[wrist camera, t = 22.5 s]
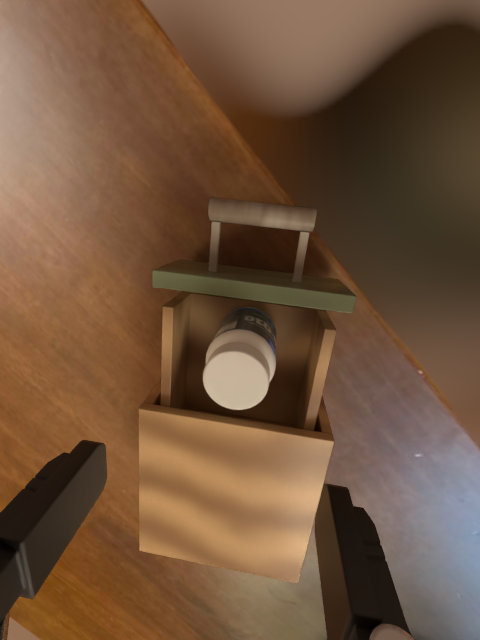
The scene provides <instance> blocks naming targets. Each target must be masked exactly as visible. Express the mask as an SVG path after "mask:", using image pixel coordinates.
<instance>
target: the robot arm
mask: <svg viewBox="0 0 480 640" xmlns="http://www.w3.org/2000/svg"><path fill="white" fill-rule="evenodd" d="M106 479H107V463H106V447H105V444H104V443H99V442H93V441H88V440H82V441H81V442H80V443H79V444H78V445H77V446H76V447H75V448H74V449H73V450H72V451H71V452H70V454H69V453H62V454H61V455H59V456H58V457H56V458H54V459H53V460H51V461H50V462H48V463H47V464H46V465H45V466H44V467H43V468H42V469H41V470H40V472H39V473H38V474H37V475H36V477H35V478H33V479H32V480H31V481H30V482H29V483H28V484H27V485H26V486H25V489H22V491H21V492H20V493H19V494H18V495H17V496H16V497H15V498H14V499H13V500H12V501H11V502H10V503H9V504H8V505H7V506H6V507H5V509H4V510H3V511H2V512H1V513H0V640H7V635H8V625H9V610H10V609H11V607H12V606H13V604H14V603H15V602H16V600H17V599H18V597H19V596H20V597H25V598H29V599H33V598H34V597H35V595H36V594H37V592H38V591H39V589H40V588H41V586H42V584H43V583H44V581H45V580H46V578H47V577H48V575H49V574H50V572H51V570H52V569H53V567H54V566H55V564H56V563H57V561H58V560H59V558H60V557H61V555H62V553H63V552H64V550H65V549H66V547H67V546H68V544H69V543H70V541H71V539H72V538H73V536H74V535H75V533H76V532H77V530H78V529H79V527H80V525H81V524H82V522H83V521H84V519H85V518H86V516H87V515H88V513H89V512H90V510H91V508H92V507H93V505H94V504H95V502H96V501H97V499H98V498H99V496H100V494H101V493H102V491H103V489H104V486H105V483H106ZM315 539H316V547H317V555H318V564H319V572H320V580H321V589H322V597H323V605H324V614H325V622H326V630H327V639H328V640H415V639H414V638H413V637H412V635H411V633H410V631H409V629H408V626H407V624H406V621H405V618H404V615H403V612H402V608H401V605H400V602H399V599H398V596H397V593H396V590H395V587H394V583H393V580H392V577H391V574H390V571H389V568H388V565H387V562H386V561H385V555H384V552H383V549H382V546H381V545H380V540H379V537H378V533H377V530H376V527H375V524H374V523H373V521H372V520H371V518H370V517H369V516H368V514H367V513H366V511H365V510H364V508H360V507H355V506H353V504H352V500H351V497H350V493H349V490H348V488H347V487H342V486H336V485H330V484H324V486H323V489H322V493H321V497H320V501H319V504H318V508H317V512H316V517H315Z"/></svg>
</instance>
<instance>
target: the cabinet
mask: <svg viewBox="0 0 480 640" xmlns="http://www.w3.org/2000/svg"><path fill="white" fill-rule="evenodd" d="M333 445H334V438H333V435H332V431H331V427H330V423H329V419H328V415H327V411H326V407H325V404H324V400H323V396H322V397H321V401H320V406H319V410H318V415H317V419H316V424H315V428H314V431H310V430H303V429H297V428H291V427H285V426H279V425H273V424H267V423H261V422H255V421H249V420H243V419H237V418H231V417H225V416H219V415H213V414H207V413H201V412H195V411H189V410H183V409H177V408H171V407H165V406H161V379H160V381H159V382H158V383H157V385H156V386H155V387H154V389H153V390H152V391H151V393H150V394H149V395H148V397H147V398H146V400H145V401H144V402H143V403H142V405H141V406H140V407H139V529H140V551H144V552H149V553H153V554H158V555H163V556H168V557H173V558H177V559H182V560H187V561H192V562H197V563H202V564H206V565H211V566H216V567H221V568H226V569H231V570H235V571H240V572H245V573H250V574H255V575H260V576H264V577H269V578H274V579H279V580H284V581H288V582H293V583H298V581H299V577H300V573H301V569H302V565H303V561H304V557H305V554H306V550H307V546H308V542H309V538H310V534H311V530H312V526H313V523H314V519H315V515H316V511H317V507H318V503H319V499H320V495H321V492H322V488H323V484H324V480H325V476H326V472H327V468H328V464H329V461H330V457H331V453H332V449H333Z"/></svg>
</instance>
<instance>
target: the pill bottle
mask: <svg viewBox="0 0 480 640" xmlns="http://www.w3.org/2000/svg"><path fill="white" fill-rule="evenodd" d="M275 368H276V328H275V325H274V323H273V321H272V320H271V318H270V317H269V316H268V315H267V314H266V313H265V312H263V311H262V310H260V309H257V308H253V307H242V308H238V309H236V310H234V311H232V312H231V313H230V314H229V315H228V316H227V317H226V318H225V320H224V321H223V323H222V325H221V327H220V328H219V330H218V332H217V334H216V335H215V337H214V339H213V341H212V342H211V344H210V346H209V347H208V350H207V353H206V366H205V368H204V372H203V383H204V387H205V389H206V391H207V393H208V395H209V396H210V397H211V398H212V399H213V400H214V401H215V402H216V403H218V404H219V405H221V406H223V407H226V408H229V409H234V410H243V409H248V408H251V407H253V406H255V405H257V404H258V403H259V402H261V401H262V399H263V398H264V397H265V395H266V393H267V391H268V387H269V382H270V381H271V379H272V378H273V375H274V373H275Z"/></svg>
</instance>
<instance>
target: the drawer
mask: <svg viewBox="0 0 480 640" xmlns="http://www.w3.org/2000/svg"><path fill="white" fill-rule="evenodd" d="M316 214H317V210H316V208H308V207H299V206H290V205H280V204H271V203H262V202H252V201H243V200H233V199H224V198H215V197H211V198H210V201H209V206H208V217H209V220H210V221H212V225H211V240H210V254H209V263H204V262H196V261H188V260H180V259H179V260H177V261H174V262H172V263H169V264H166V265H164V266H161V267H159V268H156V269H153V270H152V287H156V288H164V289H171V290H179V291H183V292H181V293H180V294H179V295H177V296H176V297H175V298H173V299H172V300H171V301H169V302H168V303H167V304H165V305H164V306H163V316H162V363H161V406H165V407H171V408H177V409H183V410H189V411H195V412H201V413H207V414H213V415H219V416H225V417H231V418H237V419H243V420H249V421H255V422H261V423H267V424H273V425H279V426H285V427H291V428H297V429H303V430H310V431H314V428H315V424H316V419H317V415H318V410H319V406H320V401H321V397H322V393H323V388H324V384H325V379H326V375H327V371H328V366H329V362H330V357H331V353H332V349H333V344H334V340H335V335H336V329H335V327H334V325H333V323H332V321H331V319H330V318H329V316H328V314H327V312H326V310H329V311H336V312H344V313H353V310H354V306H355V301H356V295H355V294H354V293H353V292H352V291H351V290H349V289H348V288H347V287H346V286H345V285H344V284H343V283H342V282H341V281H340V280H339V279H332V278H324V277H316V276H308V275H302V273H303V267H304V261H305V256H306V250H307V244H308V238H309V232H312V231H313V229H314V226H315V221H316ZM221 222H226V223H235V224H244V225H253V226H262V227H270V228H279V229H288V230H297V231H300V234H299V240H298V246H297V252H296V258H295V264H294V271H293V274H292V273H284V272H276V271H268V270H260V269H252V268H244V267H236V266H228V265H220V264H218V261H219V249H220V236H221V224H222V223H221ZM242 307H253V308H257V309H260V310H262V311H263V312H265V313H266V314H267V315H268V316H269V317H270V318H271V320H272V321H273V323H274V325H275V328H276V368H275V373H274V375H273V378H272V379H271V381H270V382H269V387H268V391H267V393H266V395H265V397H264V398H263V399H262V401H261V402H259V403H258V404H257V405H255V406H253V407H251V408H248V409H243V410H234V409H229V408H226V407H223V406H221V405H219V404H218V403H216V402H215V401H214V400H213V399H212V398H211V397H210V396H209V395H208V393H207V391H206V389H205V387H204V383H203V372H204V368H205V366H206V353H207V350H208V347H209V346H210V344H211V342H212V341H213V339H214V337H215V335H216V334H217V332H218V330H219V328H220V327H221V325H222V323H223V321H224V320H225V318H226V317H227V316H228V315H229V314H230V313H231V312H232V311H234V310H236V309H238V308H242Z"/></svg>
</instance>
